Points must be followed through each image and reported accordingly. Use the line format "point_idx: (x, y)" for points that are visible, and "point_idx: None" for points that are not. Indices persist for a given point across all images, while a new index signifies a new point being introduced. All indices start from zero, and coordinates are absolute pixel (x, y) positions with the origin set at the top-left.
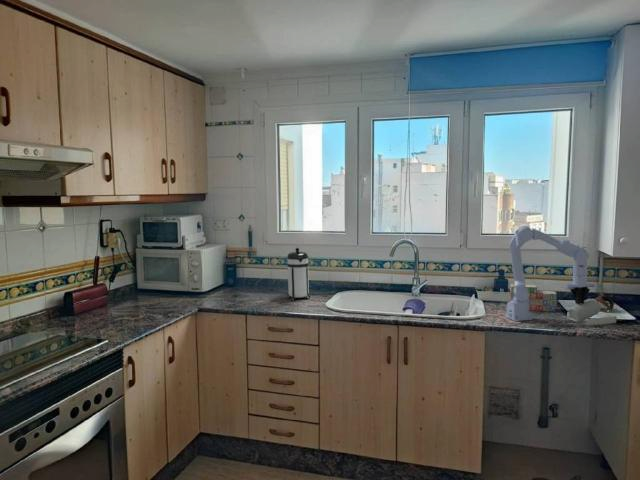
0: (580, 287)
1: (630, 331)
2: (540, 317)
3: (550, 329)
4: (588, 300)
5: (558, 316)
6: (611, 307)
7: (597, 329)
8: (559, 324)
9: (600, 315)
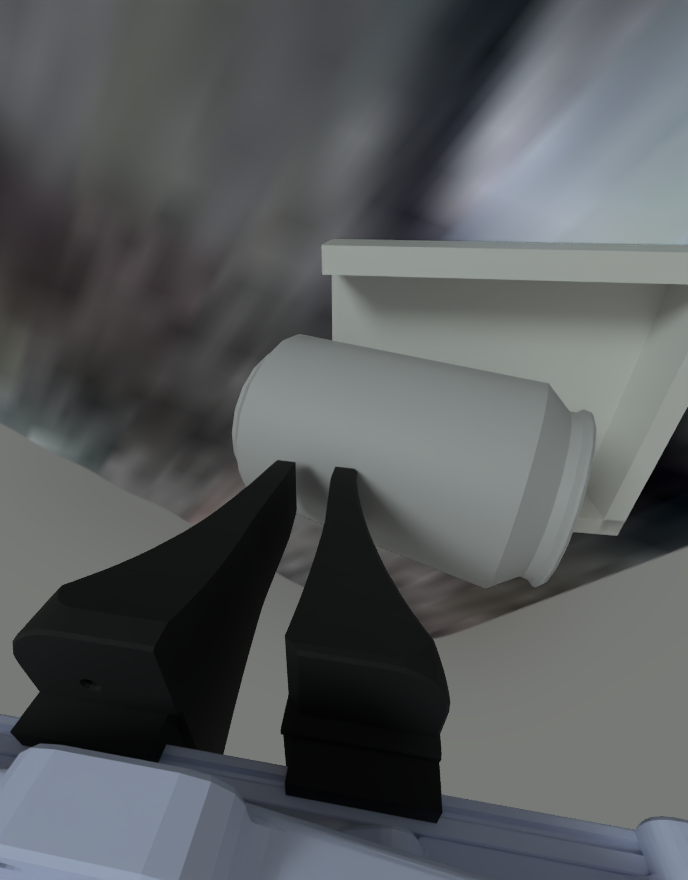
0: (237, 788)
1: (477, 611)
2: (61, 87)
3: (45, 447)
4: (445, 543)
5: (293, 121)
6: None
7: None
8: (153, 381)
9: (648, 376)
